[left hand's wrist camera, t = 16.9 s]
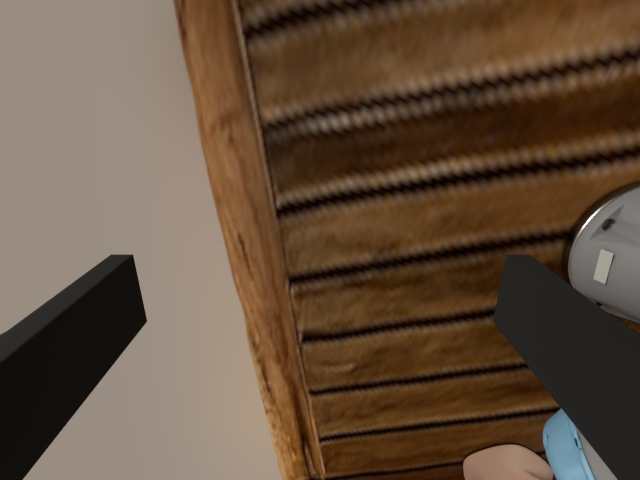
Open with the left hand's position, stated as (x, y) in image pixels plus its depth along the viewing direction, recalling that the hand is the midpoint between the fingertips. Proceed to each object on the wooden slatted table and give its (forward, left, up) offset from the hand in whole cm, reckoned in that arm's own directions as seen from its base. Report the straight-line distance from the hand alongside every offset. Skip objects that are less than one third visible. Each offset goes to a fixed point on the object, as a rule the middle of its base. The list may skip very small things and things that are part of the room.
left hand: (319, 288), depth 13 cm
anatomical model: (-17, +50, -25) cm, 59 cm away
